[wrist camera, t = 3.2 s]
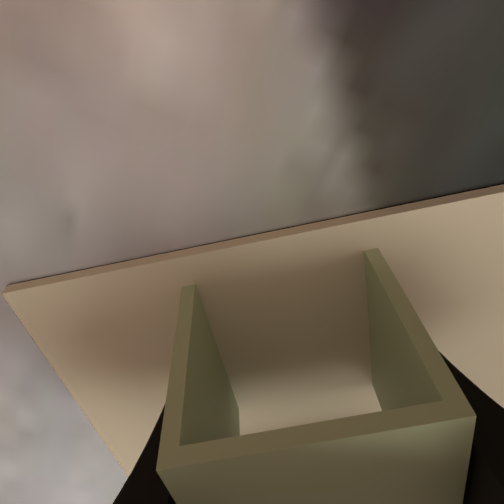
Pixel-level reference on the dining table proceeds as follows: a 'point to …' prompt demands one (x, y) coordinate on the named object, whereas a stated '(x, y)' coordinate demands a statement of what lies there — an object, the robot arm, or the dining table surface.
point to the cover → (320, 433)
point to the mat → (275, 316)
